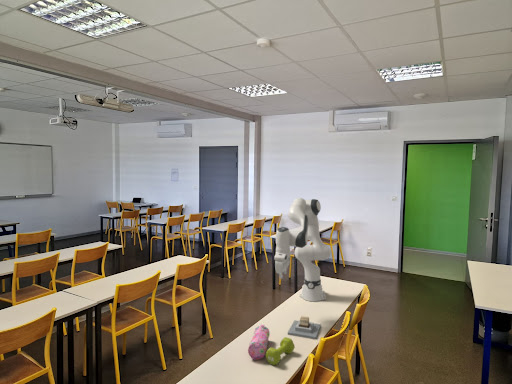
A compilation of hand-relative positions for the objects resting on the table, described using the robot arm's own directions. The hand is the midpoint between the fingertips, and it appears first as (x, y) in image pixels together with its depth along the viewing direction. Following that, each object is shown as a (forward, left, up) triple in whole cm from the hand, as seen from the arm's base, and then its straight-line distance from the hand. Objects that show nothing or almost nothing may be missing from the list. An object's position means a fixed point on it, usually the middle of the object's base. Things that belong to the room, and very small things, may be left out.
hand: (283, 276), depth 201 cm
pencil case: (+37, -2, -28) cm, 47 cm away
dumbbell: (+41, +10, -28) cm, 50 cm away
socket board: (+9, +15, -28) cm, 33 cm away
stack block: (+9, +15, -27) cm, 32 cm away
